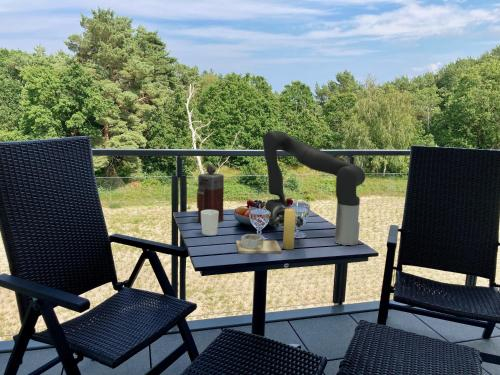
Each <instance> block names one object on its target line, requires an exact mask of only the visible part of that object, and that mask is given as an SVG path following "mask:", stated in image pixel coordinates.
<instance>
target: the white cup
mask: <svg viewBox="0 0 500 375" xmlns="http://www.w3.org/2000/svg"><path fill="white" fill-rule="evenodd" d="M218 215H219V212H218V211H217V210H203V211H201V222H200V223H201V224H200V225H201V234H202V235H204V236H216V235H217V234H218V228H219V223H218Z"/></svg>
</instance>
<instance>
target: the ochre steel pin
mask: <svg viewBox="0 0 500 375" xmlns="http://www.w3.org/2000/svg"><path fill="white" fill-rule="evenodd" d="M295 218H296V209H294V208H287V209H285V215H284V226H283V236H282V238H283V240H282V241H283V242H282V248H283V249H284V250H293V249H294V247H295V232H296V231H295V230H296V229H295V228H296V225H295Z"/></svg>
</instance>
